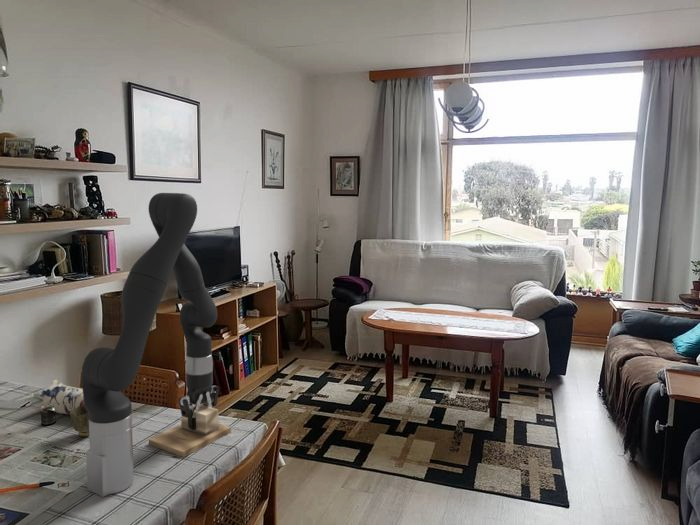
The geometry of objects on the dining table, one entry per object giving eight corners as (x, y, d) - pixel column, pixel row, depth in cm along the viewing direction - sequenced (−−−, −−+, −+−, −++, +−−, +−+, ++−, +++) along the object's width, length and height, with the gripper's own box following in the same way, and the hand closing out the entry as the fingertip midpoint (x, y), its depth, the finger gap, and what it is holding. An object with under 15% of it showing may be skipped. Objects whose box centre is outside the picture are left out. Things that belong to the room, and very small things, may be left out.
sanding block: (205, 435, 143) (205, 415, 142) (181, 427, 148) (181, 407, 147) (218, 429, 147) (218, 409, 147) (194, 421, 152) (194, 402, 152)
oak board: (183, 457, 134) (183, 451, 134) (148, 444, 141) (148, 439, 141) (231, 432, 149) (231, 427, 149) (197, 421, 156) (197, 416, 156)
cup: (105, 430, 149) (104, 404, 148) (89, 441, 141) (88, 414, 141) (81, 428, 149) (80, 403, 149) (65, 440, 142) (63, 413, 141)
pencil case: (39, 415, 159) (37, 385, 158) (61, 405, 167) (59, 376, 166) (96, 424, 153) (95, 393, 152) (116, 413, 161) (115, 384, 160)
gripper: (189, 379, 138) (190, 438, 140) (226, 365, 150) (226, 420, 152) (170, 374, 142) (171, 431, 143) (208, 361, 154) (208, 414, 156)
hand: (200, 425), depth 148 cm, fingers closed on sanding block, 5 cm apart
